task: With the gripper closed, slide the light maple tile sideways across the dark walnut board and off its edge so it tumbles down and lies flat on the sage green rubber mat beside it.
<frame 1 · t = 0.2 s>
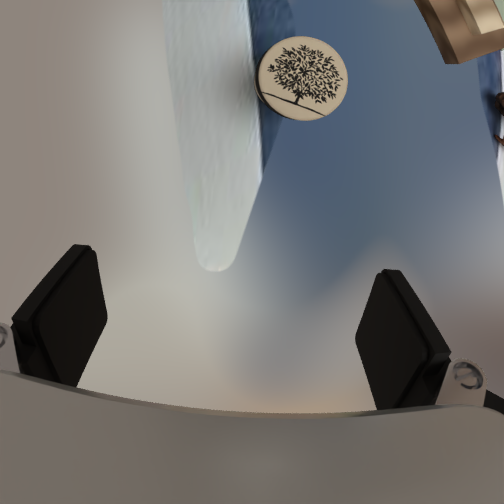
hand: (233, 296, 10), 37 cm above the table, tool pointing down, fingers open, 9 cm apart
beige canister: (283, 82, 39), on the table
maple tile: (471, 5, 27), point 4 cm above the table, touching walnut board
walnut board: (453, 9, 31), on the table
pottery mug: (502, 115, 39), on the table
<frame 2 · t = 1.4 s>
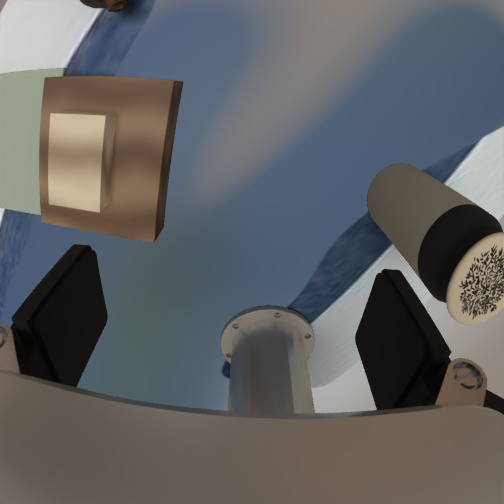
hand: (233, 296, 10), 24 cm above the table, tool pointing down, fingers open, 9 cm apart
rubber mat: (18, 142, 30), on the table
beige canister: (397, 196, 34), on the table
maple tile: (85, 156, 28), point 4 cm above the table, touching walnut board
walnut board: (110, 149, 31), on the table
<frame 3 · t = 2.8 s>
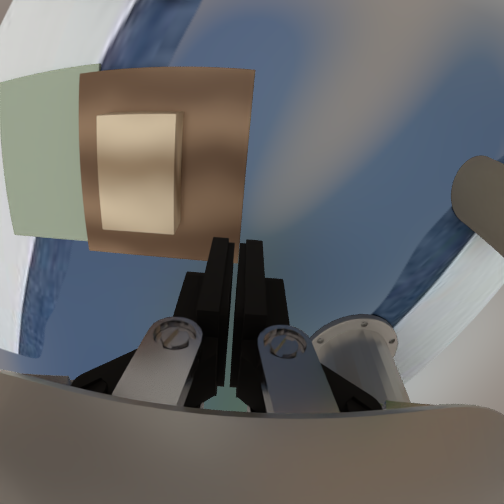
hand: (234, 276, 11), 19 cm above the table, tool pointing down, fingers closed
rubber mat: (46, 157, 27), on the table
beige canister: (475, 189, 29), on the table
maple tile: (144, 167, 24), point 4 cm above the table, touching walnut board
walnut board: (168, 157, 28), on the table
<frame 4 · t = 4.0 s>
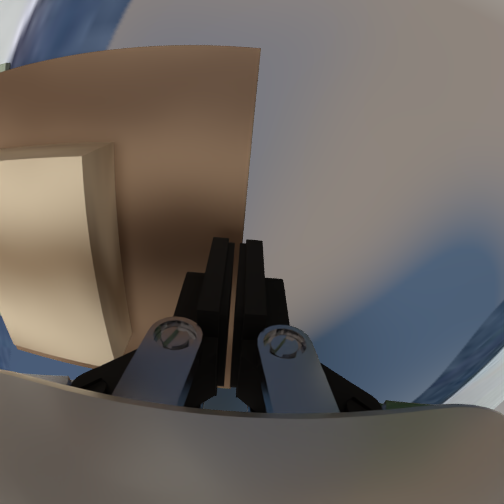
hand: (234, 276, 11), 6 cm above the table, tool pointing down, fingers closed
maple tile: (61, 245, 13), point 4 cm above the table, touching walnut board
walnut board: (112, 212, 16), on the table
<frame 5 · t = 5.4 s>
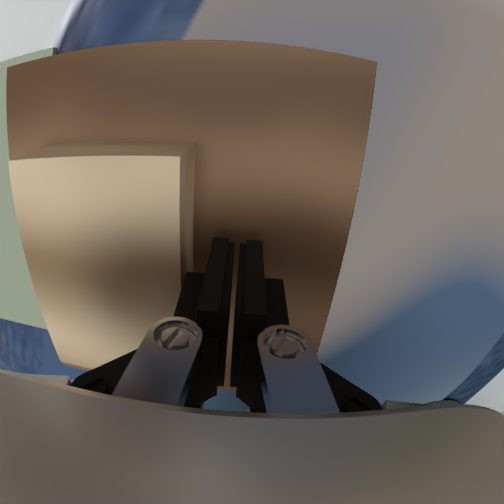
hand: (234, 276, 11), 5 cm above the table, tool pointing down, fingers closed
maple tile: (121, 253, 12), point 4 cm above the table, touching walnut board
walnut board: (182, 216, 16), on the table
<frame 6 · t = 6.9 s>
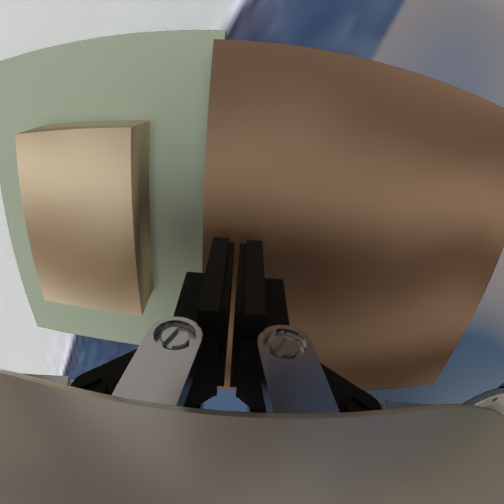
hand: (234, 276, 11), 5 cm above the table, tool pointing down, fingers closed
rubber mat: (93, 211, 16), on the table
maple tile: (74, 229, 13), point 3 cm above the table, tilted 180°, touching rubber mat
walnut board: (350, 229, 16), on the table
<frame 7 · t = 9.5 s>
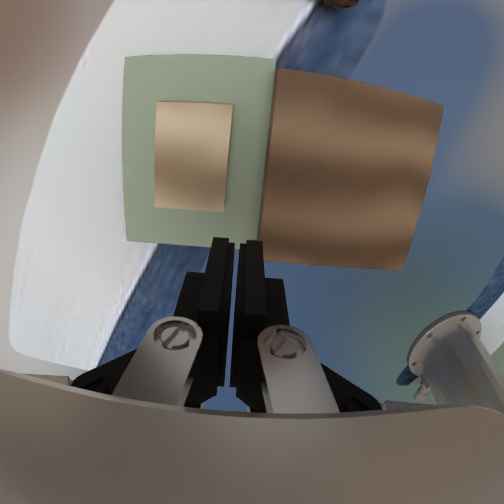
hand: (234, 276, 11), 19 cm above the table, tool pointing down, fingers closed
rubber mat: (191, 153, 28), on the table
maple tile: (190, 157, 25), point 3 cm above the table, tilted 180°, touching rubber mat
walnut board: (341, 168, 28), on the table
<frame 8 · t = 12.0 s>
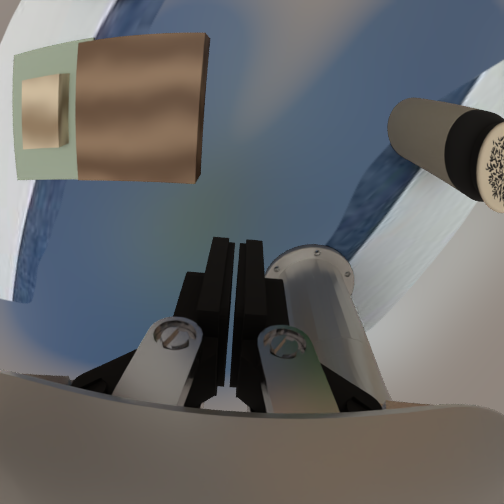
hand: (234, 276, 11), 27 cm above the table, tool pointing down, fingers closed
rubber mat: (49, 112, 32), on the table
beige canister: (414, 128, 34), on the table
maple tile: (39, 112, 29), point 3 cm above the table, tilted 180°, touching rubber mat
walnut board: (144, 105, 33), on the table
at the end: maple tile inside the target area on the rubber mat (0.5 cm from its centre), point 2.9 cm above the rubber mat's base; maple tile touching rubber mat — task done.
